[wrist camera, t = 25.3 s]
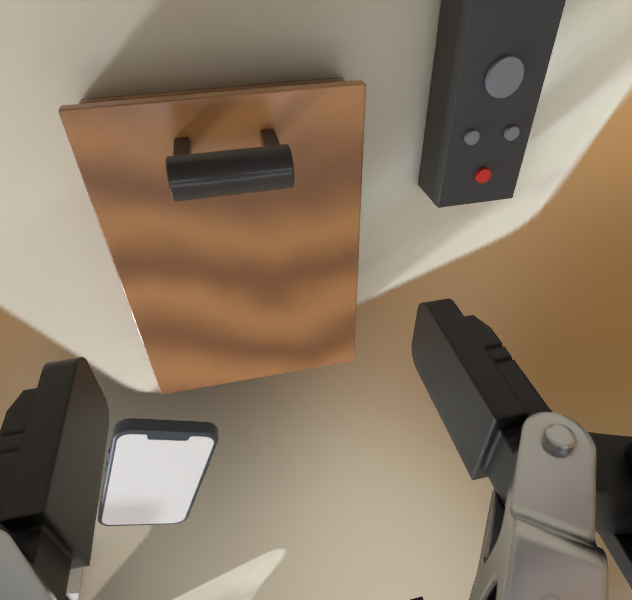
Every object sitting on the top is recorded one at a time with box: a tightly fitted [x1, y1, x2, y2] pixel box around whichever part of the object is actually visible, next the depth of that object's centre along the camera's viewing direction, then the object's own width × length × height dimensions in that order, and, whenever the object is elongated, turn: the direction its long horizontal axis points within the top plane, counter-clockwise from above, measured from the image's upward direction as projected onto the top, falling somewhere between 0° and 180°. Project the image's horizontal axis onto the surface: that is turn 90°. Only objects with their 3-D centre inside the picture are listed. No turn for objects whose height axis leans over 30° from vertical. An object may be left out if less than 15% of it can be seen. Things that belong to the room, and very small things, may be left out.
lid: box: [58, 80, 366, 394], centre depth 26 cm, size 19×14×5 cm
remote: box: [419, 0, 566, 208], centre depth 25 cm, size 15×5×4 cm, turn 1°
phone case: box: [98, 419, 218, 526], centre depth 44 cm, size 9×2×16 cm
